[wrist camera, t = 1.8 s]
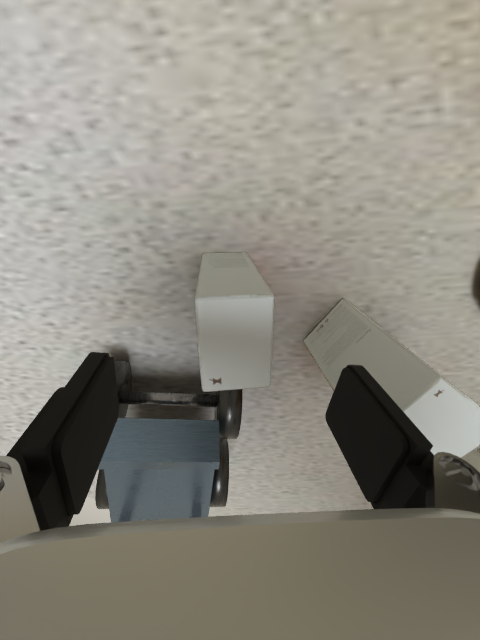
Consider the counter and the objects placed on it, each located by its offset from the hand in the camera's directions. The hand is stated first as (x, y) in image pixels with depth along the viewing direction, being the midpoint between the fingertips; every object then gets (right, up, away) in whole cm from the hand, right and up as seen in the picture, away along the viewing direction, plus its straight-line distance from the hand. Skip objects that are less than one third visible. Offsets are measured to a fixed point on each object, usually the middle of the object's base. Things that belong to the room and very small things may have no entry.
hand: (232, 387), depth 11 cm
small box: (+12, +1, +18) cm, 22 cm away
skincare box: (-1, +6, +14) cm, 16 cm away
